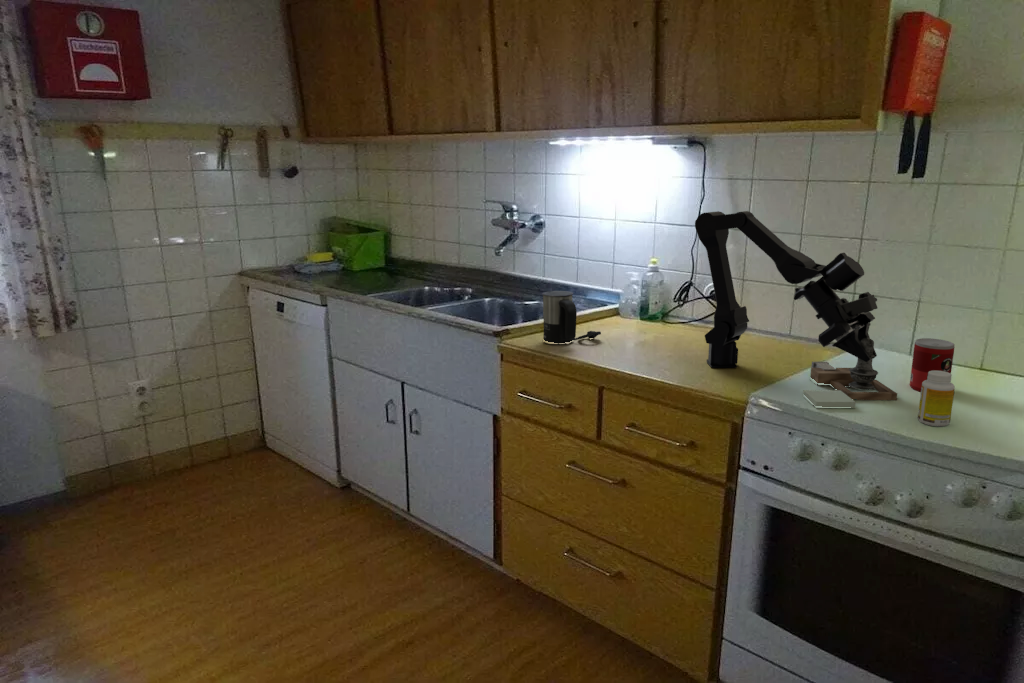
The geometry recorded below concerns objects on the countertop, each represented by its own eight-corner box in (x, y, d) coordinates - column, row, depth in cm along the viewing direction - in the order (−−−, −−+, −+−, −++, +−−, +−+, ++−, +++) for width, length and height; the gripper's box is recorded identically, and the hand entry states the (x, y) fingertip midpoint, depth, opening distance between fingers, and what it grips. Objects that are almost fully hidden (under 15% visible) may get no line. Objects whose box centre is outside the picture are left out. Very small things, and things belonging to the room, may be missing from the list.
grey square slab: (815, 408, 150) (816, 401, 149) (802, 396, 157) (803, 390, 157) (854, 408, 149) (855, 401, 149) (839, 396, 157) (840, 390, 156)
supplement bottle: (956, 426, 138) (963, 376, 136) (928, 428, 138) (935, 377, 135) (937, 417, 143) (944, 368, 141) (911, 418, 143) (917, 369, 141)
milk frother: (535, 342, 211) (535, 292, 207) (572, 333, 221) (572, 286, 217) (570, 350, 200) (570, 298, 197) (607, 341, 210) (608, 291, 207)
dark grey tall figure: (870, 382, 162) (876, 331, 159) (880, 390, 156) (887, 337, 153) (843, 382, 162) (849, 331, 159) (852, 390, 157) (859, 337, 154)
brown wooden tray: (834, 399, 155) (835, 386, 154) (810, 379, 170) (811, 367, 169) (896, 400, 154) (898, 387, 153) (866, 379, 169) (868, 367, 168)
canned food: (929, 396, 157) (936, 347, 154) (901, 385, 164) (906, 339, 161) (957, 392, 159) (963, 344, 156) (927, 382, 166) (933, 336, 163)
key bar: (821, 380, 168) (822, 369, 168) (810, 372, 175) (811, 361, 174) (836, 380, 168) (837, 369, 167) (825, 372, 175) (826, 361, 174)
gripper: (839, 286, 150) (888, 346, 145) (870, 276, 162) (916, 331, 158) (798, 317, 157) (844, 375, 152) (831, 305, 170) (875, 358, 165)
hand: (871, 359), depth 157 cm, fingers closed on dark grey tall figure, 4 cm apart
